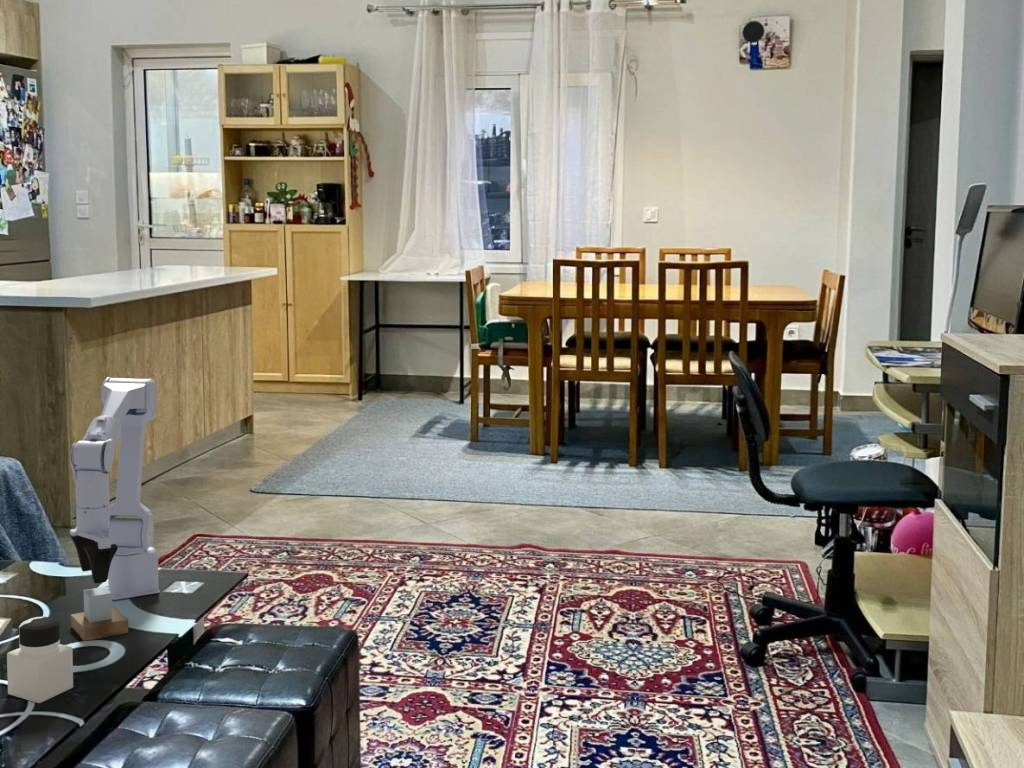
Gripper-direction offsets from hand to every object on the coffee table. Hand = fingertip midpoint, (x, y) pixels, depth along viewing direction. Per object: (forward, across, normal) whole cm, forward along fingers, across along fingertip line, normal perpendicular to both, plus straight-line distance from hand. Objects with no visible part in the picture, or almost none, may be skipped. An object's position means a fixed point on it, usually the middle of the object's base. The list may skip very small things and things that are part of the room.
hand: (94, 576), depth 206 cm
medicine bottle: (+10, +23, -15) cm, 29 cm away
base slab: (+11, 0, +1) cm, 11 cm away
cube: (+8, +1, 0) cm, 8 cm away
